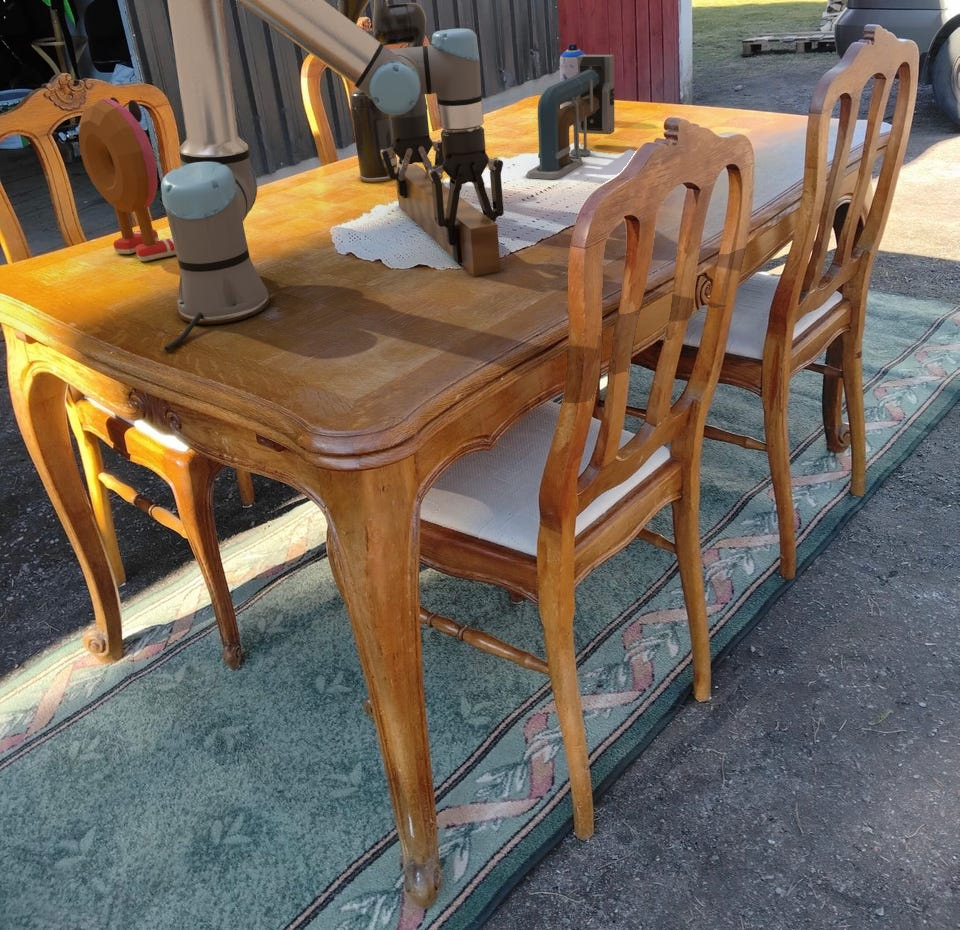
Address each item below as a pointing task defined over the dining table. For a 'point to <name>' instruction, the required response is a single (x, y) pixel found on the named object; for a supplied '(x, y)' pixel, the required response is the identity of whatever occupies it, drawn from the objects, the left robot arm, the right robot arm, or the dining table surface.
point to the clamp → (574, 115)
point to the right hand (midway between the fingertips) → (417, 194)
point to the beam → (472, 223)
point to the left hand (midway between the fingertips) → (472, 258)
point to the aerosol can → (569, 65)
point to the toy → (123, 172)
